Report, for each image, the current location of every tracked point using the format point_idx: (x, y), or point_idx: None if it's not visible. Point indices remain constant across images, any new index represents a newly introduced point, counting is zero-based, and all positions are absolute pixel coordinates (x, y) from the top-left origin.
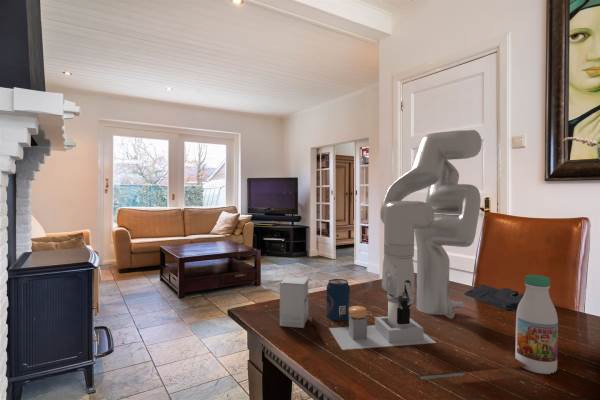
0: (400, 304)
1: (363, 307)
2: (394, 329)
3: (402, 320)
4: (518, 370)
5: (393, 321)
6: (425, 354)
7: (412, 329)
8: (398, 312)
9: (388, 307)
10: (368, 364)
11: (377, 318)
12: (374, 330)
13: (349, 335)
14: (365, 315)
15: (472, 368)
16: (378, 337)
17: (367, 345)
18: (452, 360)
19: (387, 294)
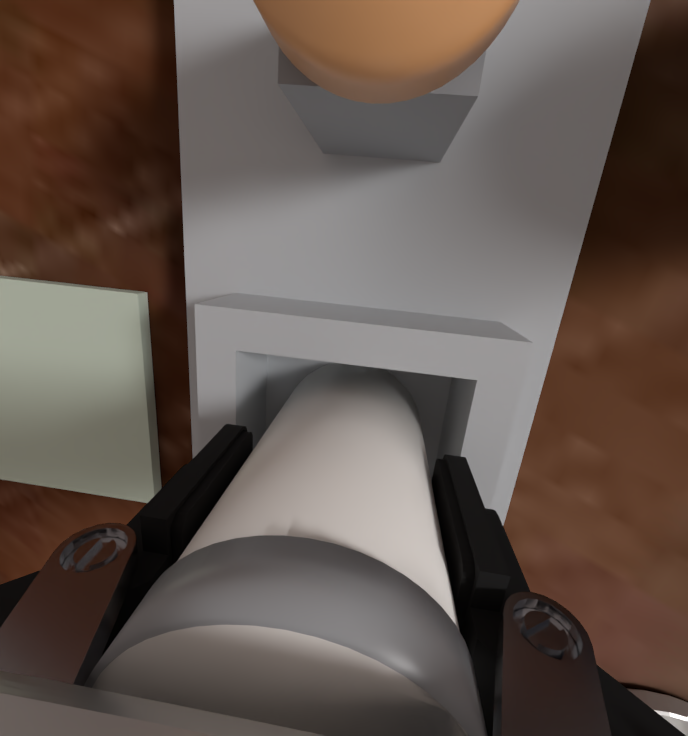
0: (31, 583)
1: (432, 16)
2: (207, 361)
3: (184, 466)
4: None
5: (284, 415)
6: (161, 439)
7: None
8: (167, 489)
9: (343, 471)
10: (69, 43)
11: (490, 350)
12: (457, 296)
13: None
14: (269, 30)
15: (34, 529)
16: (327, 262)
17: (213, 102)
18: (98, 508)
19: (589, 700)
